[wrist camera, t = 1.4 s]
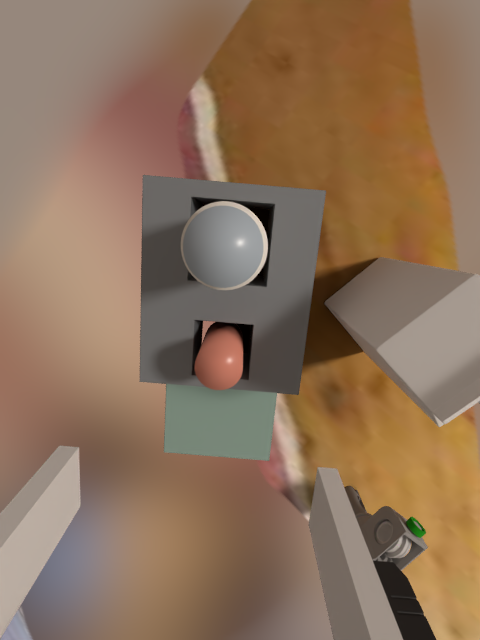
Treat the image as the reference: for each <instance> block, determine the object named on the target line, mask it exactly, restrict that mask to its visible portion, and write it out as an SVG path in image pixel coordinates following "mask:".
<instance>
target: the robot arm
mask: <svg viewBox="0 0 480 640" xmlns="http://www.w3.org/2000/svg"><path fill="white" fill-rule="evenodd" d="M79 507H80V471H79V448H78V447H69V446H59V447H58V448H57V449H56V450H55V452H54V453H53V454H52V455H51V456H50V457H49V458H48V460H47V461H46V462H45V463H44V464H43V465H42V466H41V468H40V469H39V470H38V471H37V472H36V473H35V474H34V476H33V477H32V478H31V479H30V480H29V481H28V483H27V484H26V485H25V486H24V487H23V488H22V489H21V491H20V492H19V493H18V494H17V495H16V496H15V497H14V499H13V500H12V501H11V502H10V503H9V504H8V505H7V507H6V508H5V509H4V510H3V511H2V512H1V513H0V638H1V637H2V635H3V633H4V632H5V630H6V628H7V627H8V625H9V623H10V622H11V620H12V618H13V617H14V615H15V613H16V612H17V610H18V608H19V607H20V605H21V604H22V602H23V600H24V598H25V597H26V595H27V593H28V592H29V590H30V588H31V587H32V585H33V583H34V582H35V580H36V579H37V577H38V575H39V574H40V572H41V570H42V569H43V567H44V565H45V564H46V562H47V560H48V559H49V557H50V555H51V554H52V552H53V550H54V549H55V547H56V546H57V544H58V542H59V541H60V539H61V537H62V536H63V534H64V532H65V531H66V529H67V527H68V526H69V524H70V522H71V521H72V519H73V517H74V516H75V514H76V512H77V511H78V509H79ZM309 528H310V532H311V537H312V542H313V547H314V551H315V555H316V560H317V565H318V570H319V574H320V579H321V583H322V587H323V593H324V597H325V601H326V606H327V611H328V616H329V620H330V625H331V629H332V634H333V639H334V640H436V638H435V636H434V634H433V632H432V630H431V627H430V625H429V623H428V621H427V619H426V617H424V614H423V613H424V612H423V610H422V608H421V606H420V604H419V602H418V601H417V600H416V595H415V593H414V591H413V589H412V587H411V585H410V583H409V581H408V578H407V577H406V576H405V575H404V574H403V573H402V571H401V570H400V569H399V568H398V567H397V566H396V564H395V563H394V562H386V561H373V560H372V558H371V555H370V553H369V550H368V548H367V545H366V542H365V540H364V537H363V535H362V532H361V530H360V527H359V524H358V522H357V519H356V517H355V514H354V511H353V509H352V506H351V504H350V501H349V499H348V496H347V493H346V491H345V488H344V486H343V483H342V481H341V478H340V475H339V473H338V470H337V469H334V468H322V467H318V469H317V475H316V482H315V488H314V494H313V500H312V507H311V513H310V519H309Z"/></svg>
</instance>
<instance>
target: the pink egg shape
mask: <svg viewBox="0 0 480 640" xmlns="http://www.w3.org/2000/svg"><path fill="white" fill-rule="evenodd" d="M242 372H243V333H242V331H241V329H240V328H239V326H238V325H236V324H235V323H227V322H215V323H213V324H212V325H211V326H210V327H209V328H208V330H207V332H206V335H205V337H204V340H203V343H202V345H201V348H200V350H199V353H198V355H197V358H196V361H195V373H196V376H197V378H198V380H199V381H200V382H201V383H202V384H203V385H204V386H206V387H208V388H210V389H213V390H225V389H228V388H231V387H232V386H234V385H235V384H236V383H237V382H238V381H239V379H240V378H241V375H242Z"/></svg>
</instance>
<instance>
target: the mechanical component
mask: <svg viewBox="0 0 480 640" xmlns="http://www.w3.org/2000/svg"><path fill="white" fill-rule="evenodd" d="M345 491H346V493H347V496H348V499H349V501H350V504H351V506H352V509H353V511H354V514H355V517H356V519H357V522H358V524H359V527H360V530H361V532H362V535H363V537H364V540H365V542H366V545H367V548H368V550H369V553H370V555H371V558H372V560H373V561H386V562H394V563H395V564H396V566H397V567H398V568H399V569H400V570H402V569H404V568H405V567H406V566H407V565H408V564H409V563H411V562H412V561H413V560H414V559H415V558H416V557H418V556H419V555H420V554H421V553H422V552H423V551H425V550H426V549H427V548H428V547H427V545H426V544H425V542H424V540H423V538H422V536H423V535H424V534H426V531H425V529H424V528H423V527H422V525H421V524H420V523H419V522H418V521H417V520H416V519H415V518H413V517H410V518H409V519H408V520H407V519H405V518H404V517H403V516H401V515H400V514H399V513H397V512H396V511H395V510H393V509H392V508H390V507H388V506H384V507H382V508H380V509H379V510H378V511H377V512H376V513H375V514H374V515H373V516H372V515H371V514H369V513H367V512H366V510H365V507H364V505H363V503H362V500H361V498H360V496H359V494H358V491H357V490H356V491H355V490H354V488H353V487H351V486H347V487H346V488H345ZM411 542H412V546H411ZM410 546H411V549H410ZM409 549H410V552H409V553H408V551H409ZM407 553H408V554H407ZM406 554H407V555H406ZM405 555H406V556H405ZM404 556H405V557H404Z"/></svg>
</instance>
